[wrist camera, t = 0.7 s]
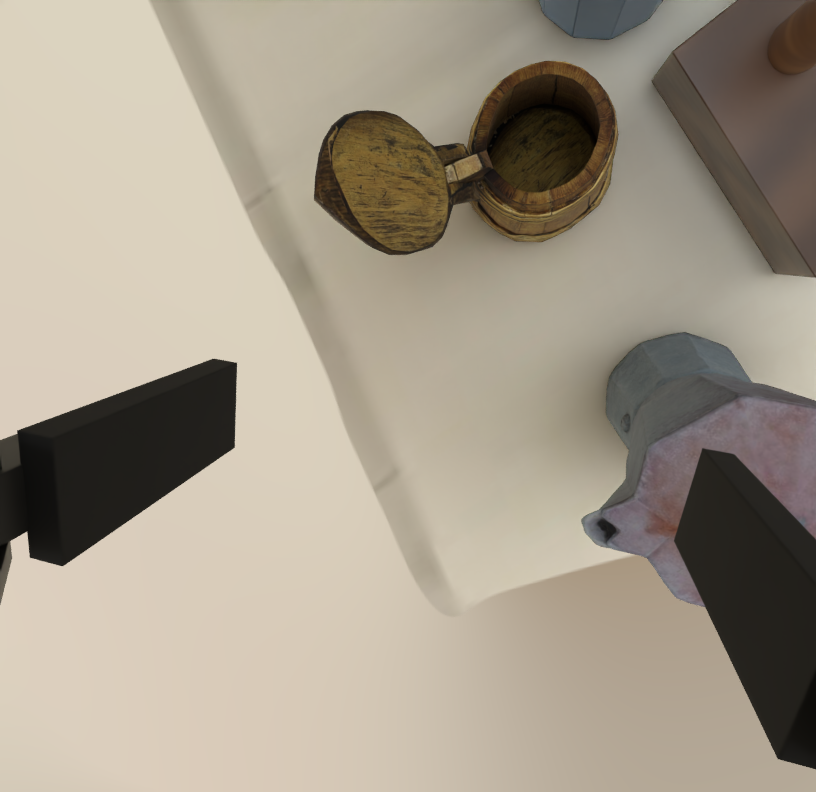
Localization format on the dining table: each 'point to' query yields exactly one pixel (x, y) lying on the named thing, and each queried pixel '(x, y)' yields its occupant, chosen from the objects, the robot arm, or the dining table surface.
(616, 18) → the blue faceted cup
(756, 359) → the dining table surface
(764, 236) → the peg box
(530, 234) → the wooden mug
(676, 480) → the moka pot
